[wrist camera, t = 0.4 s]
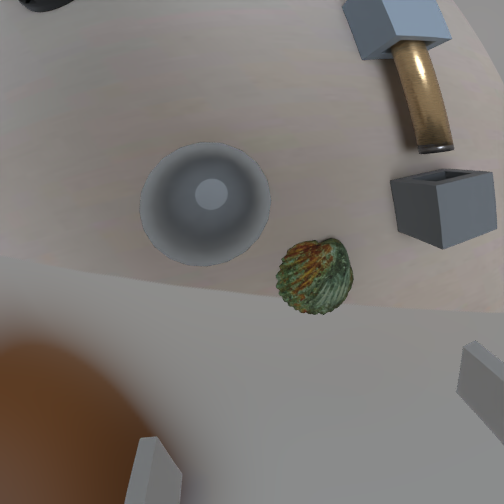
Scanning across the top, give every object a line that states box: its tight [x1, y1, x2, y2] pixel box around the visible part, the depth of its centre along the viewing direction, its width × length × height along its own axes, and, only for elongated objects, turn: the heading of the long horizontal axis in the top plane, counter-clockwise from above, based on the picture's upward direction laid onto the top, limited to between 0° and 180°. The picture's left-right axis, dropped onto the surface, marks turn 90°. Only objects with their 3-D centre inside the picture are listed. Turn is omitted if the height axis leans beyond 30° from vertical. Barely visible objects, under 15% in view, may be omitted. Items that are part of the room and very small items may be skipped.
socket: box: [390, 169, 497, 249], centre depth 32 cm, size 6×9×10 cm
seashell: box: [276, 238, 354, 315], centre depth 37 cm, size 10×4×10 cm
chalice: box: [139, 142, 271, 266], centre depth 26 cm, size 7×7×18 cm
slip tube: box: [390, 40, 454, 154], centre depth 27 cm, size 22×4×4 cm, turn 15°
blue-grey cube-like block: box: [342, 0, 452, 60], centre depth 26 cm, size 8×8×9 cm
